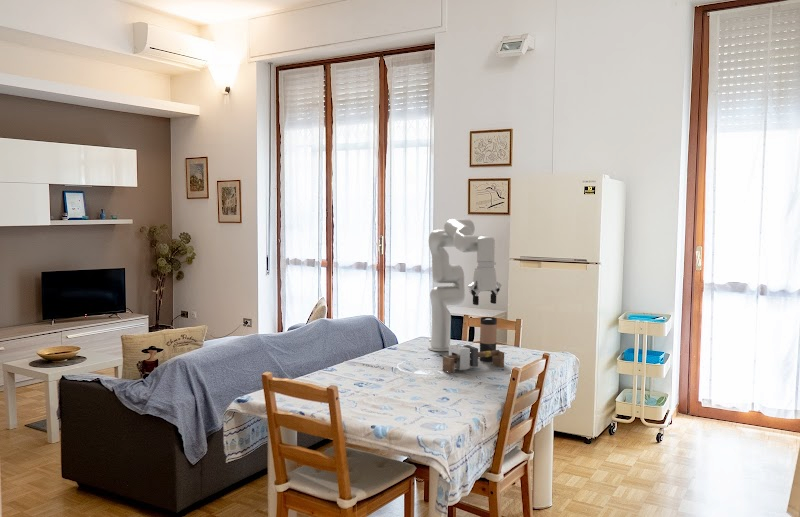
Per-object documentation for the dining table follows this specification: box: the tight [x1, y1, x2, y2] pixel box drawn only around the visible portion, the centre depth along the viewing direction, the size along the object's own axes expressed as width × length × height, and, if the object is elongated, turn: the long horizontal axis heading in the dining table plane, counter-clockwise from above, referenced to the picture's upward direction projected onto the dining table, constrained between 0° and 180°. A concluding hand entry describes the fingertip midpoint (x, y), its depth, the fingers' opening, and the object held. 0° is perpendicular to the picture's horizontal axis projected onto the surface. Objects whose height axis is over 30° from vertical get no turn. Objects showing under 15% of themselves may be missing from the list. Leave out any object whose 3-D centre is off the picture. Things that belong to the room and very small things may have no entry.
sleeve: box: [448, 344, 471, 371], centre depth 295 cm, size 5×9×9 cm, turn 29°
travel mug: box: [479, 316, 498, 363], centre depth 314 cm, size 8×8×20 cm
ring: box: [462, 344, 479, 368], centre depth 298 cm, size 2×8×8 cm, turn 29°
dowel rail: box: [442, 349, 505, 374], centre depth 299 cm, size 29×6×7 cm, turn 119°
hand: (484, 304), depth 294 cm, fingers open, 9 cm apart
